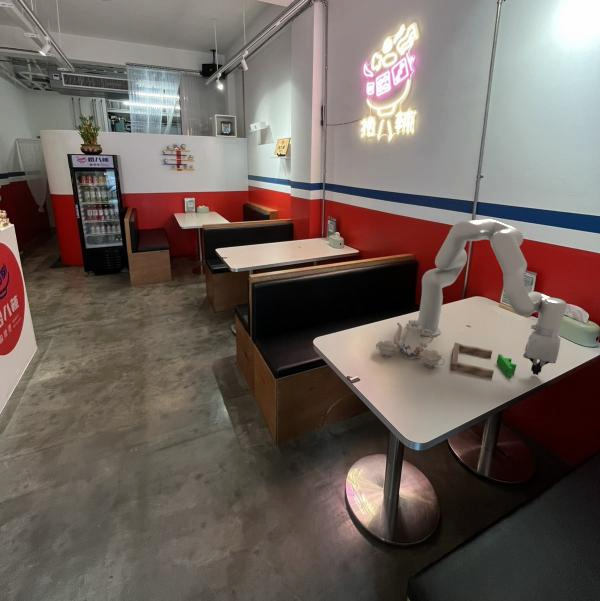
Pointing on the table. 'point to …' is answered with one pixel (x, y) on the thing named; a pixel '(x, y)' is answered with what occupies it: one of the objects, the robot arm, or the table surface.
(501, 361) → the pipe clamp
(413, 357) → the chinaware
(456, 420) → the table surface
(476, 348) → the frame
